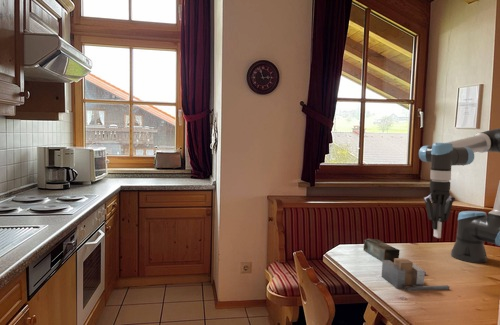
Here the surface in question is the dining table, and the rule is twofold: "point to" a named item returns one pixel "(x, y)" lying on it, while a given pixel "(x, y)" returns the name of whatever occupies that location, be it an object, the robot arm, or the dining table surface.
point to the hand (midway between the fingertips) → (437, 236)
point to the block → (405, 268)
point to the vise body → (403, 278)
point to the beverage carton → (380, 250)
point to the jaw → (417, 276)
